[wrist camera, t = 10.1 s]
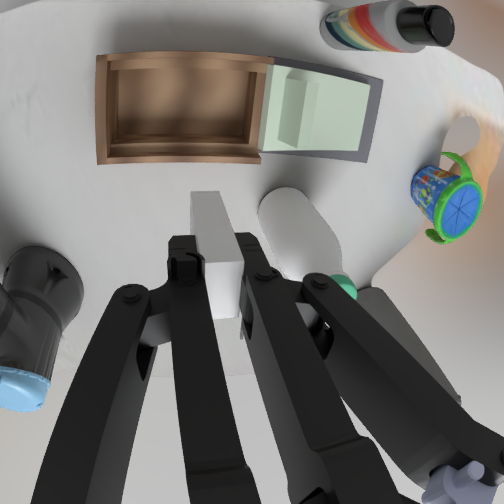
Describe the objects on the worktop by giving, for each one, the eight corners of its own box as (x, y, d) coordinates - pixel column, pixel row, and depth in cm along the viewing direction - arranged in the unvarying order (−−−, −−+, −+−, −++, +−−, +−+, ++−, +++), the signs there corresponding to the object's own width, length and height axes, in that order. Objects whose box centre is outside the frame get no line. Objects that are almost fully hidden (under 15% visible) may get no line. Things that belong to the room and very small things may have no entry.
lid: (257, 148, 34) (282, 160, 31) (267, 64, 29) (295, 66, 26) (351, 148, 42) (376, 159, 39) (363, 83, 37) (391, 90, 33)
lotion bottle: (326, 5, 30) (428, -19, 14) (362, 24, 32) (472, 21, 15) (313, 39, 33) (410, 33, 16) (349, 57, 34) (456, 70, 18)
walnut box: (111, 147, 36) (97, 164, 30) (112, 56, 29) (96, 55, 24) (248, 147, 40) (260, 164, 34) (259, 58, 33) (274, 57, 27)
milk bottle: (246, 205, 44) (286, 301, 28) (292, 175, 43) (359, 255, 27) (273, 241, 49) (318, 340, 32) (315, 214, 47) (379, 302, 31)
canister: (377, 322, 67) (450, 451, 38) (328, 331, 64) (395, 479, 36) (396, 278, 60) (492, 416, 31) (343, 284, 57) (436, 450, 29)
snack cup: (433, 222, 53) (466, 251, 45) (392, 224, 51) (425, 256, 43) (454, 146, 45) (494, 168, 36) (412, 139, 43) (454, 161, 35)
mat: (255, 151, 40) (256, 152, 40) (267, 56, 33) (268, 56, 33) (366, 162, 44) (366, 163, 44) (382, 80, 37) (383, 80, 37)
